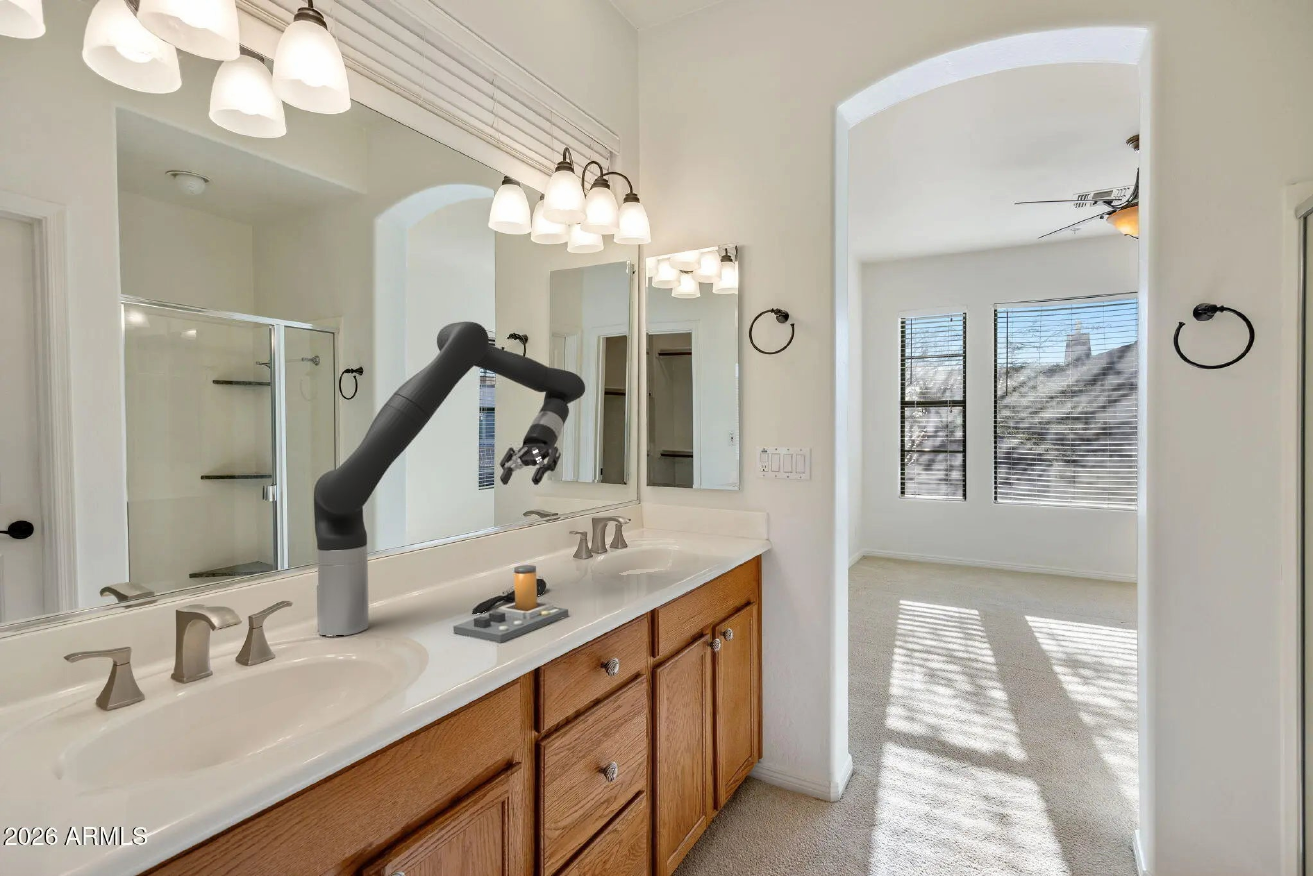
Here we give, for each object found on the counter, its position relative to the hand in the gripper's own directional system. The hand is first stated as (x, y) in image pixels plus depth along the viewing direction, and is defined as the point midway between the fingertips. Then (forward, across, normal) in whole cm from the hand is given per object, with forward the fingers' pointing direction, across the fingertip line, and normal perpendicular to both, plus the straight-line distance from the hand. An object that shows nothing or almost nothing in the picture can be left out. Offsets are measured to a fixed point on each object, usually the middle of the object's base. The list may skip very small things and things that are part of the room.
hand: (518, 482), depth 144 cm
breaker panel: (+30, +7, +11) cm, 32 cm away
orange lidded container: (+25, +7, +13) cm, 29 cm away
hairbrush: (+18, -6, +23) cm, 30 cm away
